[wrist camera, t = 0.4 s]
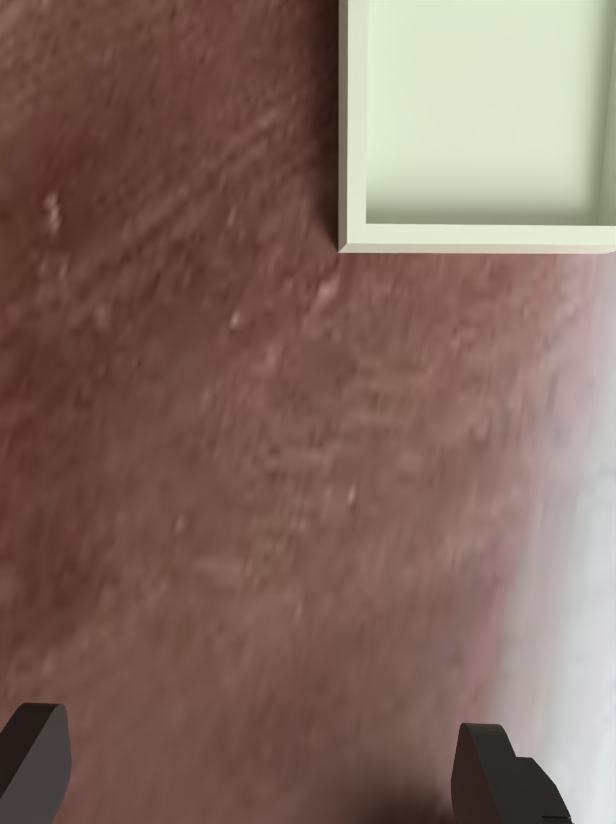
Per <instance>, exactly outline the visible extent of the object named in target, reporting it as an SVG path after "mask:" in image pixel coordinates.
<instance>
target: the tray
mask: <svg viewBox="0 0 616 824" xmlns="http://www.w3.org/2000/svg"><path fill="white" fill-rule="evenodd" d="M613 251H616V0H339V201H338V253H540V254H604V253H609V252H613Z"/></svg>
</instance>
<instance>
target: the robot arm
mask: <svg viewBox="0 0 616 824" xmlns="http://www.w3.org/2000/svg"><path fill="white" fill-rule="evenodd" d="M71 765H72V759H71V749H70V740H69V730H68V721H67V712H66V708H65V706H64V705H63V704H49V703H23V704H22V705H21V706H19V708H18V709H17V710H16V711H15V713H14V714H13V716H12V717H11V718H10V720H9V721H8V723H7V724H6V726H5V727H4V729H3V730H2V732H1V733H0V824H51V823H52V821H53V819H54V817H55V815H56V813H57V811H58V808H59V806H60V804H61V802H62V800H63V798H64V795H65V792H66V789H67V786H68V783H69V778H70V773H71ZM451 796H452V805H453V811H454V816H455V820H456V824H573V823H572V821H571V816H570V814H569V812H568V810H567V808H566V805H565V803H564V801H563V799H562V797H561V795H560V793H559V791H558V789H557V787H556V785H555V784H554V783H553V781H552V780H551V779H550V778H549V777H548V776H547V774H546V773H545V772H544V771H543V770H542V769H541V767H540V766H539V765H538V764H537V763H536V762H535V761H534V759H533V758H526V757H516V755H515V753H514V750H513V748H512V746H511V743H510V741H509V739H508V737H507V734H506V732H505V730H504V729H503V727H502V726H501V725H498V724H475V723H462V724H461V726H460V730H459V736H458V742H457V747H456V753H455V759H454V765H453V771H452V778H451Z"/></svg>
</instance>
